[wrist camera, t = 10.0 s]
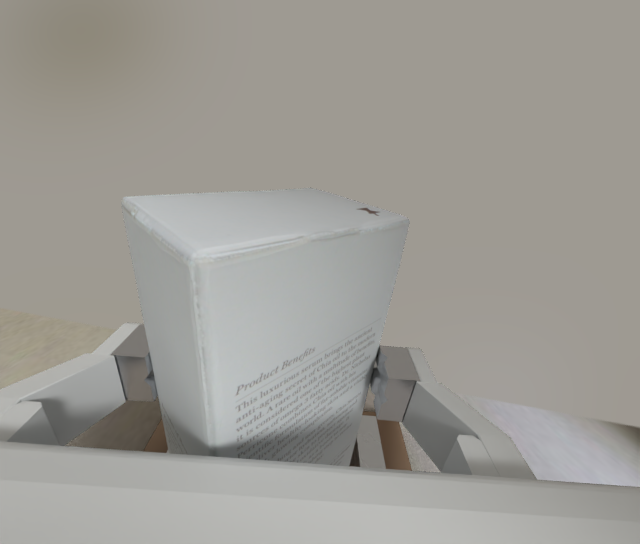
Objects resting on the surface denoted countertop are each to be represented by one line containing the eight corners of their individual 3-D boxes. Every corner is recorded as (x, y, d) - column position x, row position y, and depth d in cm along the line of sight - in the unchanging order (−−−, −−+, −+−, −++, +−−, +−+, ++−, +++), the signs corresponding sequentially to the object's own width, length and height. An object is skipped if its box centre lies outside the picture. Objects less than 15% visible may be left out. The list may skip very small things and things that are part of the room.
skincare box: (289, 413, 15) (313, 185, 10) (348, 478, 13) (419, 216, 8) (169, 496, 11) (113, 190, 6) (220, 616, 9) (195, 258, 4)
